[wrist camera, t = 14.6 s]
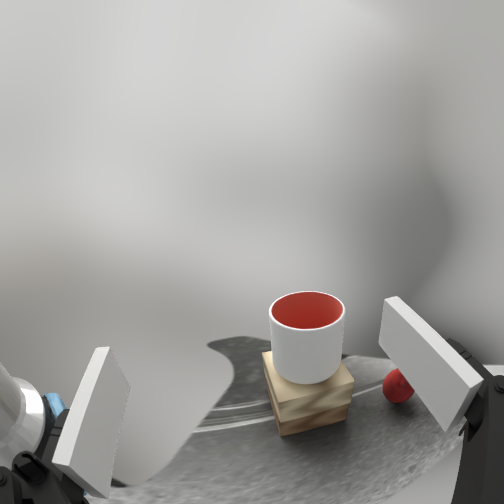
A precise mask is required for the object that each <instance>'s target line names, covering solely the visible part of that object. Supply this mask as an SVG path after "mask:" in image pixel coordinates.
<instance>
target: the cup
mask: <svg viewBox="0 0 504 504" xmlns="http://www.w3.org/2000/svg"><path fill="white" fill-rule="evenodd" d="M269 318H270V332H271V346H272V360H273V366H274V368H275V370H276V372H277V373H278V374H279V375H280V376H281V377H282V378H284V379H286V380H288V381H290V382H293V383H297V384H315V383H319V382H322V381H324V380H326V379H328V378H329V377H331V376H332V375H333V374H334V373H335V372H336V371H337V369H338V367H339V365H340V362H341V353H342V344H343V333H344V322H345V321H344V320H345V307H344V305H343V303H342V302H341V301H340V300H339V299H337V298H336V297H334V296H332V295H329V294H326V293H322V292H314V291H304V292H296V293H291V294H288V295H285V296H283V297H281V298H279V299H277V300H276V301H275V302H274V303H273V304H272V305H271V307H270V309H269Z"/></svg>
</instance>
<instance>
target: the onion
mask: <svg viewBox="0 0 504 504" xmlns="http://www.w3.org/2000/svg"><path fill="white" fill-rule="evenodd" d="M414 391H415V390H414V389H413V388H412V386H411V385H410V384H409V382H408V381H407V380H406V378H405V377H404V376H403V374H402V373H401V372H400V370H399V369H398V368H397V369H395V370H393V371H391V372H390V373H389V374H388V375H387V376H386V378H385V380H384V382H383V394H384V395H385V397H386V399H388V400H389V401H390V402H393V403H401V402H404V401H406V400H408V399H409V398H410V397H411V396H412V395H413V393H414Z"/></svg>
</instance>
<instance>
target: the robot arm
mask: <svg viewBox="0 0 504 504" xmlns="http://www.w3.org/2000/svg"><path fill="white" fill-rule="evenodd" d="M379 345H380V346H381V347H382V349H383V350H384V351H385V352H386V353H387V355H388V356H389V358H390V359H391V360H392V361H393V363H394V364H395V365H396V367H397V368H398V369H399V370H400V372H401V373H402V374H403V376H404V377H405V378H406V380H407V381H408V382H409V384H410V385H411V386H412V388H413V389H414V390H415V392H416V393H417V394H418V396H419V397H420V398H421V400H422V401H423V402H424V404H425V405H426V406H427V408H428V409H429V411H430V412H431V413H432V415H433V416H434V417H435V419H436V420H437V422H438V423H439V424H440V426H441V427H442V429H443V430H444V431H445V432H447V431H449V430H450V429H452V428H454V427H455V426H457V425H458V424H459V423H460V421H461V420H462V418H463V416H465V417H466V419H467V421H466V423H465V424H464V426H463V427H462V429H461V430H460V432H459V435H458V436H461V434H462V433H463V431H464V430H465V431H464V439H463V448H462V454H461V460H460V466H459V472H458V477H457V482H456V486H455V490H454V495H453V499H452V502H451V504H504V376H502V375H497V376H493V375H492V374H491V373H490V372H489V371H488V370H487V369H486V368H485V367H484V366H483V365H482V364H481V363H480V362H478V361H477V360H476V359H475V358H474V357H472V355H471V354H470V353H469V352H468V351H466V349H465V348H464V347H463V346H462V345H461V344H460V343H458V342H456V341H454V340H452V339H448V340H444V339H443V338H442V337H441V336H440V335H439V334H438V333H437V332H436V331H435V330H434V329H432V328H431V327H430V326H429V325H428V324H427V323H426V322H425V321H424V320H423V319H422V318H421V317H420V316H418V315H417V314H416V313H415V312H414V311H413V310H412V309H411V308H410V307H409V306H407V305H406V304H405V303H404V302H403V301H402V300H401V299H399V297H397V296H395V297H391V298H388V299H385V300H384V307H383V315H382V323H381V330H380V337H379ZM129 391H130V386H129V384H128V382H127V380H126V378H125V376H124V374H123V372H122V370H121V368H120V366H119V365H118V362H117V360H116V358H115V356H114V354H113V352H112V350H111V347H97V348H96V350H95V352H94V354H93V356H92V358H91V361H90V363H89V365H88V367H87V370H86V372H85V374H84V377H83V379H82V381H81V384H80V386H79V388H78V391H77V393H76V396H75V398H74V401H73V403H72V406H71V409H67V408H66V406H65V404H64V403H63V401H62V399H61V398H60V396H59V395H58V394H56V393H50V394H48V393H46V394H44V397H41V396H40V394H39V393H38V391H37V390H36V389H35V388H34V387H33V386H32V385H31V384H30V383H28V382H27V381H25V380H23V379H20V378H16V377H10V375H9V374H8V372H7V371H6V369H5V368H4V366H3V365H2V363H1V362H0V504H89V503H88V501H87V500H86V498H85V497H84V496H85V495H86V494H87V493H88V494H90V495H91V496H93V497H99V498H105V499H108V498H109V491H110V484H111V478H112V472H113V466H114V461H115V455H116V450H117V445H118V440H119V435H120V430H121V425H122V421H123V416H124V412H125V407H126V403H127V399H128V394H129Z"/></svg>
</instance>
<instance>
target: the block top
mask: <svg viewBox="0 0 504 504" xmlns="http://www.w3.org/2000/svg"><path fill="white" fill-rule="evenodd" d="M262 356H263V363H264V371H265V376H266V379H267V382H268V385H269V389H270V392H271V395H272V398H273V401H274V404H275V407H276V411H277V414H278V417H279V420H280V423H281V422H286V421H290V420H294V419H298V418H301V417H305V416H309V415H312V414H316V413H319V412H322V411H326V410H329V409H332V408H335V407H338V406H341V405H344V404H347V403H350V402H351V399H352V393H353V387H354V379H353V378H352V376H351V375H350V373H349V372H348V370H347V368H346V367H345V365H344V364H343V362H342V361H341V362H340V365H339V367H338V369H337V371H336V372H335V373H334V374H333V375H332V376H331V377H329V378H328V379H326V380H324V381H322V382H319V383H315V384H297V383H293V382H290V381H288V380H286V379H284V378H282V377H281V376H280V375H279V374H278V373H277V372H276V370H275V368H274V366H273V360H272V351H269V352H264V353H262Z"/></svg>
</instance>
